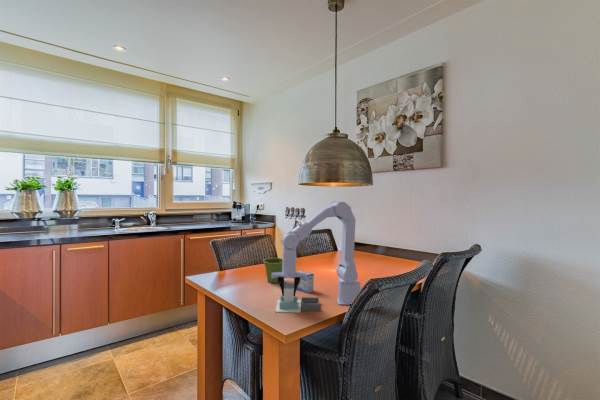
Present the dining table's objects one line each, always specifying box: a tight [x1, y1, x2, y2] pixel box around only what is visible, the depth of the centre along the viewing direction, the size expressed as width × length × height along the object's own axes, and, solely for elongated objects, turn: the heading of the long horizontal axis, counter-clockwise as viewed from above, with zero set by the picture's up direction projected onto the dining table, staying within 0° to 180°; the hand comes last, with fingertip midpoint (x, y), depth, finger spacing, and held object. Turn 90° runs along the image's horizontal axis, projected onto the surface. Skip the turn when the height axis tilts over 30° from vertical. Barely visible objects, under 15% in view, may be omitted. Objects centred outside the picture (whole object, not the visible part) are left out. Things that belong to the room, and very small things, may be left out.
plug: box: [284, 281, 294, 302], centre depth 125 cm, size 4×4×7 cm
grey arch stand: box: [301, 296, 321, 311], centre depth 125 cm, size 7×8×2 cm
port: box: [275, 295, 302, 314], centre depth 125 cm, size 10×13×3 cm
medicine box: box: [296, 270, 315, 294], centre depth 146 cm, size 8×4×9 cm, turn 45°
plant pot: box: [262, 257, 282, 284], centre depth 160 cm, size 12×12×11 cm
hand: (288, 295), depth 125 cm, fingers closed on plug, 4 cm apart
